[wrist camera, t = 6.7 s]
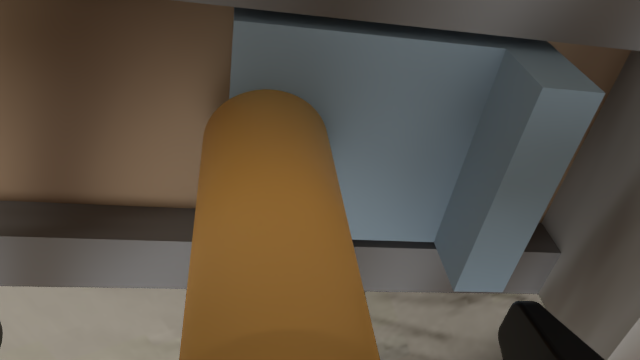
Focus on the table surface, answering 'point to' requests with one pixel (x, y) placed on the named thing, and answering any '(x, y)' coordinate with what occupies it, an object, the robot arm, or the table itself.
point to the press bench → (213, 90)
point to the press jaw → (366, 173)
